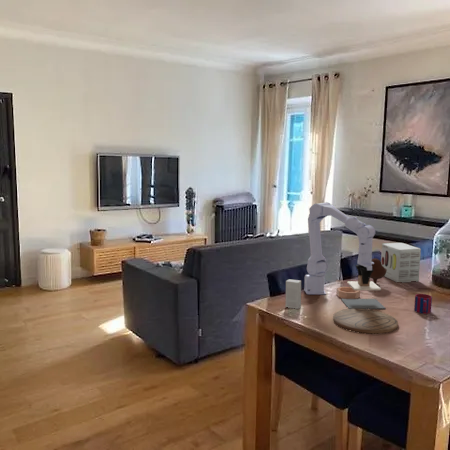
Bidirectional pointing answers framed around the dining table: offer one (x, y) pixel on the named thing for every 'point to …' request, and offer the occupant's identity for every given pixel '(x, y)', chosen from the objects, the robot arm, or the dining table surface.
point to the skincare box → (293, 293)
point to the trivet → (365, 321)
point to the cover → (360, 286)
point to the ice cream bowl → (377, 270)
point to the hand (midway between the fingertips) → (363, 282)
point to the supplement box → (401, 261)
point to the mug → (423, 303)
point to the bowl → (348, 293)
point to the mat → (362, 304)
